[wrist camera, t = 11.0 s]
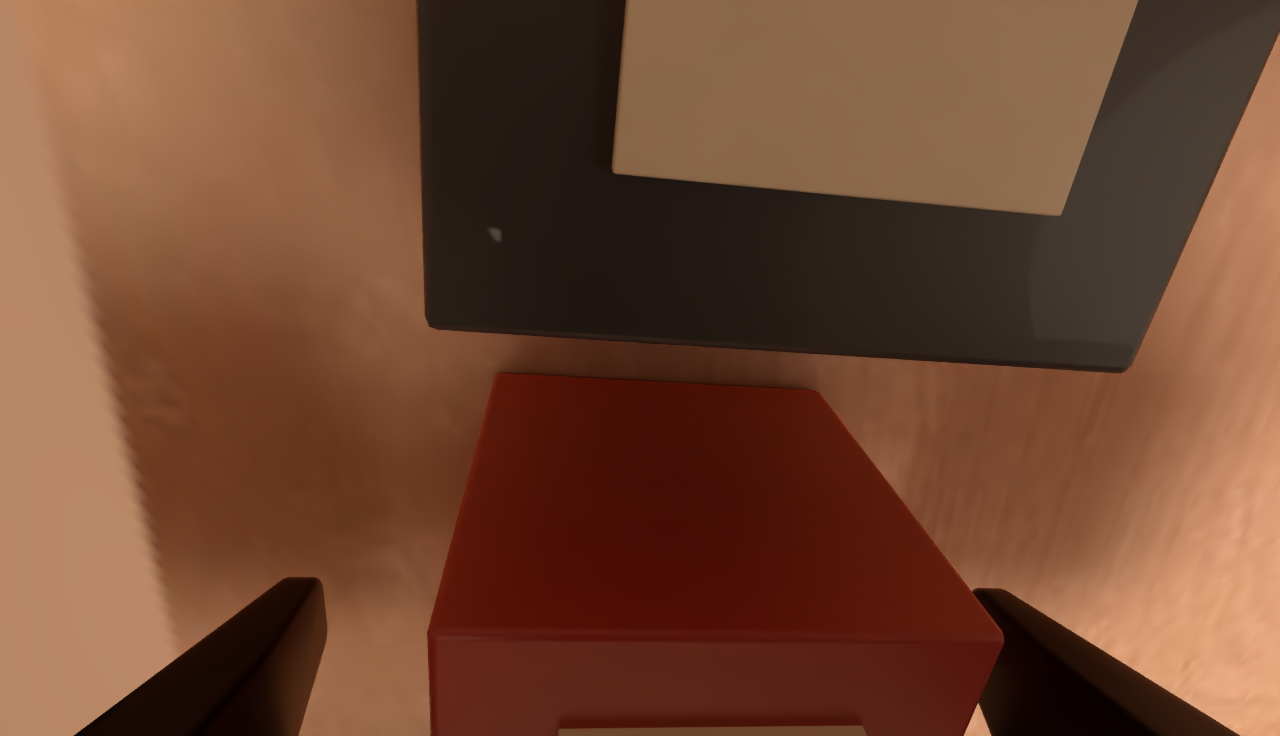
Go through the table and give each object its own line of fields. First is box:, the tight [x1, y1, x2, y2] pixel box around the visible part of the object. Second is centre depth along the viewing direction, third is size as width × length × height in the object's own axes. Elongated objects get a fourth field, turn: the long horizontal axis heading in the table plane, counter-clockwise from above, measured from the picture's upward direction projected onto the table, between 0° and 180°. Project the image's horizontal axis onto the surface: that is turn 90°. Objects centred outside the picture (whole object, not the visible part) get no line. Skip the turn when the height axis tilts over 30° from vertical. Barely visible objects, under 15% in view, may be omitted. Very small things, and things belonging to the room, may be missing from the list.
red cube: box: [427, 373, 1004, 736], centre depth 9 cm, size 5×5×5 cm
